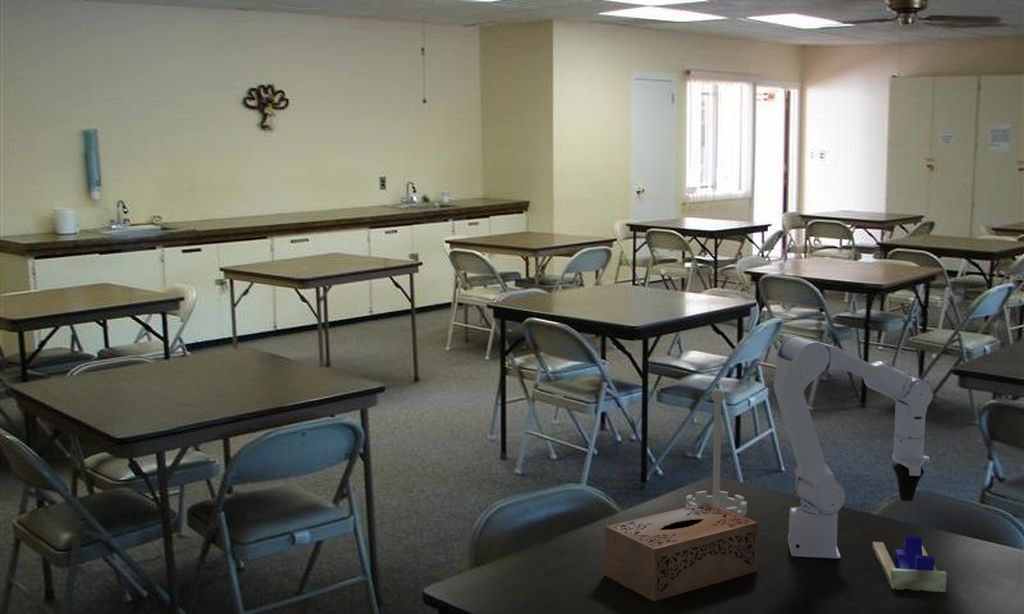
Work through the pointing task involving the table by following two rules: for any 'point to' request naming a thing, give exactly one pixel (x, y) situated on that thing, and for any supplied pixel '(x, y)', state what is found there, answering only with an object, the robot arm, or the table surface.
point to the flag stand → (718, 470)
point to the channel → (910, 573)
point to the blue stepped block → (913, 555)
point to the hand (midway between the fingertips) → (906, 499)
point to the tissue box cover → (680, 550)
